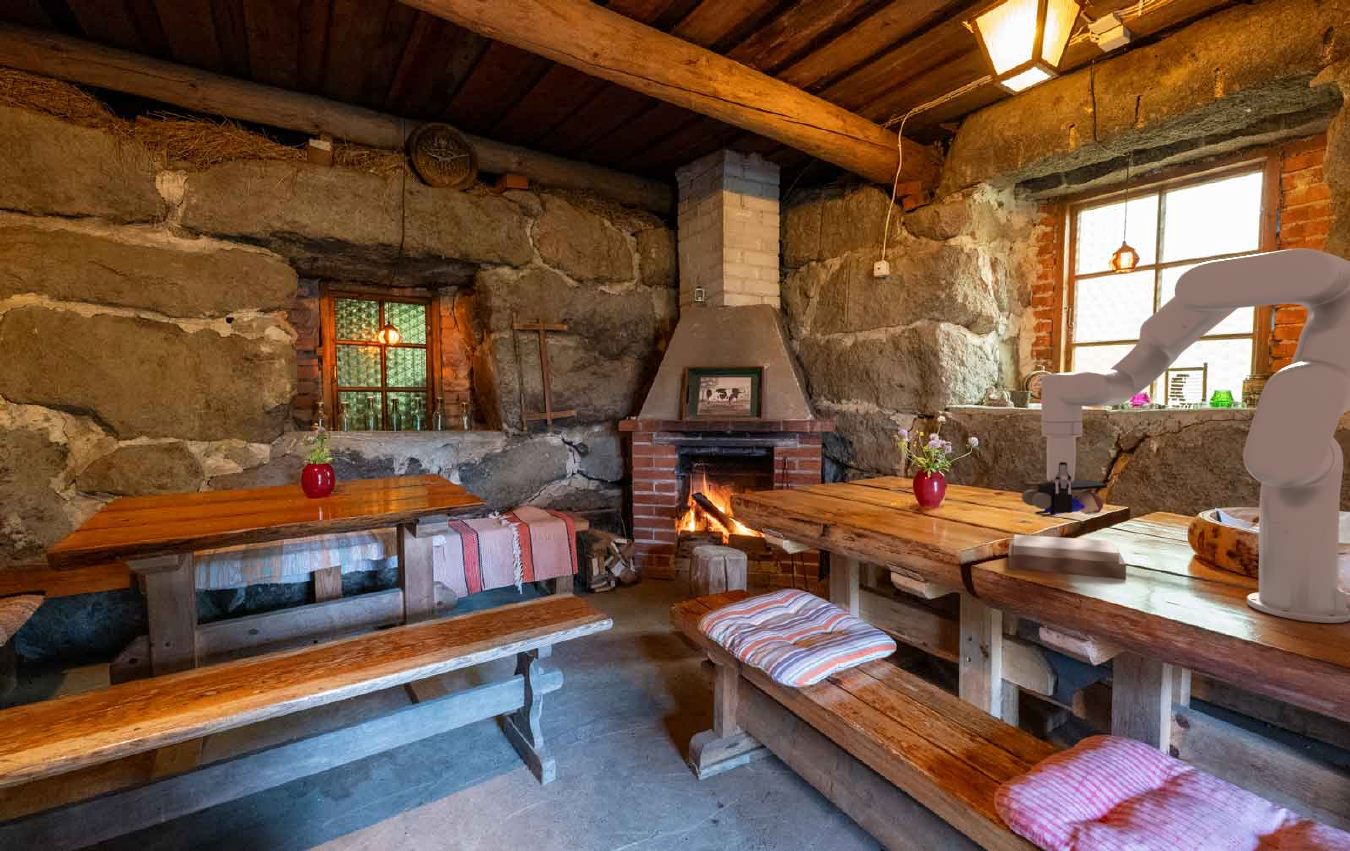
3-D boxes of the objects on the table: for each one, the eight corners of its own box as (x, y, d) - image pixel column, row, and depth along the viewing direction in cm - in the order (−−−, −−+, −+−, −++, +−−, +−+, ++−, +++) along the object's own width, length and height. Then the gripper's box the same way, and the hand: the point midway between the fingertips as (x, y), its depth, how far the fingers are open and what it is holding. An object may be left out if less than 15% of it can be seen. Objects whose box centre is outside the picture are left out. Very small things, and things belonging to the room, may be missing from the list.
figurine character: (1038, 525, 133) (1112, 515, 132) (1034, 490, 133) (1107, 480, 131) (1023, 519, 140) (1093, 509, 138) (1019, 485, 139) (1089, 476, 138)
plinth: (1117, 562, 137) (1117, 540, 136) (1126, 578, 125) (1125, 554, 125) (1010, 553, 147) (1009, 533, 147) (1008, 568, 136) (1008, 546, 135)
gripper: (1040, 426, 144) (1041, 500, 145) (1042, 432, 129) (1043, 515, 130) (1079, 426, 140) (1079, 502, 141) (1085, 432, 125) (1085, 517, 126)
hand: (1062, 508), depth 136 cm, fingers closed on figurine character, 8 cm apart
